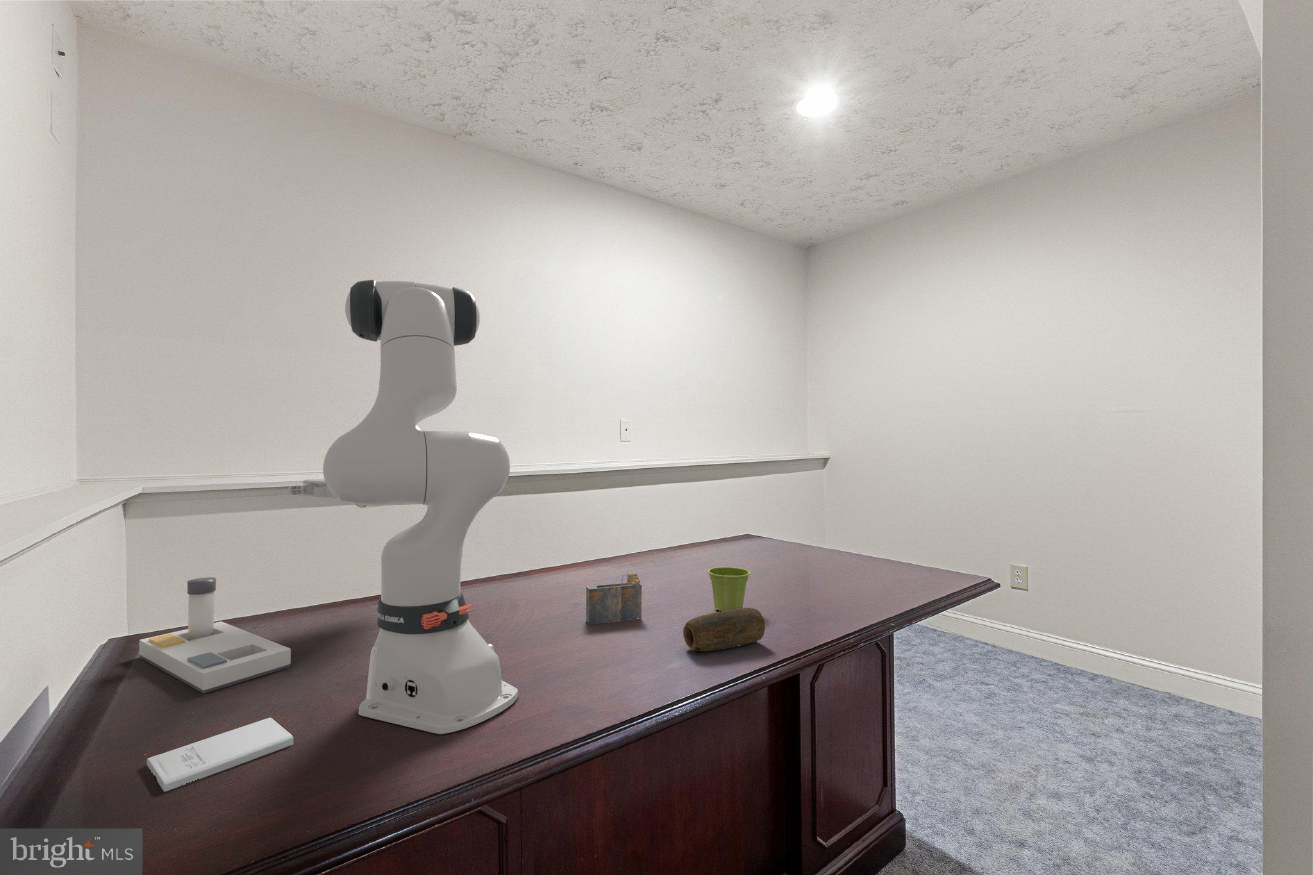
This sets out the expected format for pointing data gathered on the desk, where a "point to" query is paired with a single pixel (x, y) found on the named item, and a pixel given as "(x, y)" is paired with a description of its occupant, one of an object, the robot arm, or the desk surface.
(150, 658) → the socket board
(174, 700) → the desk surface
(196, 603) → the grey capped white cylinder
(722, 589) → the plant pot
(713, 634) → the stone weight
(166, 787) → the external hard drive
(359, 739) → the desk surface
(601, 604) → the rusty metal tin
